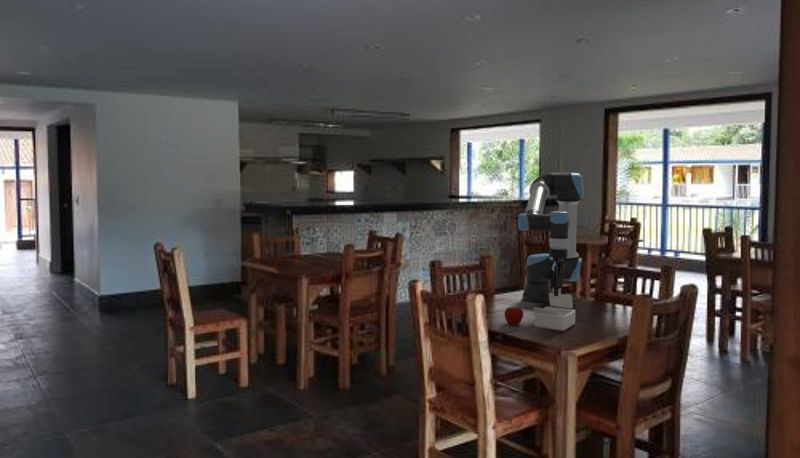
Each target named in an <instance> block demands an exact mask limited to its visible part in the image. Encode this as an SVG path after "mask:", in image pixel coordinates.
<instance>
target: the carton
mask: <svg viewBox="0 0 800 458" xmlns="http://www.w3.org/2000/svg"><path fill="white" fill-rule="evenodd" d="M542 308H543V307H542ZM543 309H551V310H557V311H558V312H559V313H560V314H561V316H559V315H552V314H544V313H537V312H536V311H535V312H534V328H538V329H539V328H540V329H547V330H553V331H560V332H565V331H566V330H568V329H569V328H571V327H572V326H574V325H575V324H576V309H572V308H564V307H556V306H545V307H544V308H543Z"/></svg>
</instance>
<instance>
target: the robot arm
mask: <svg viewBox="0 0 800 458" xmlns="http://www.w3.org/2000/svg"><path fill="white" fill-rule="evenodd" d="M528 191H529V199H528V201H527V204H526V207H525V208H526V209H525V213H524V212H523V213H519V214H518V216H517V217H518V218H517V228H518V230H519V231H526V232H548V233H549V239H548V242H549V247H550V248H549V250H548V253H536V254H531V255H529V256H528V257H527V258H526V259H527V260H526V264H525V266H526V279H525V280H526V281H525V283H526V284H525V287H524V289H523V293H522V297H521V298H522V300H523V301H527V302H531V303H550V300H549V293H553V303H556V304H560V300H561V295H562V291H561V290H562V289H563V288H564V286H563V285H564V282H577V281H578V280H579V277H580V272H581V267H582V261H583V259H582V258H581V257H580V255H579V253H578V252H577V229H578V228H577V227H578V224H577V223H578V204H579V203H580V202H581V199H582V198H584V196H585V192H584V191H585V190H584V181H583V175H582V174H581V173H578V172H546V173H543V174H541V175H539V176H538V177H537V178H535V179H534V180H533V181H532V183H531V184H530V186H529V190H528ZM548 197H551V198H552V197H553V198H554V197H555V200H556V202H557V203H558V210H555V211H551V212H550V214H546V213H545V214H544V213H543V212H544V208H545V205H546V199H547V198H548ZM550 285H551V286H550ZM552 289H553V292H552Z"/></svg>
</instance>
